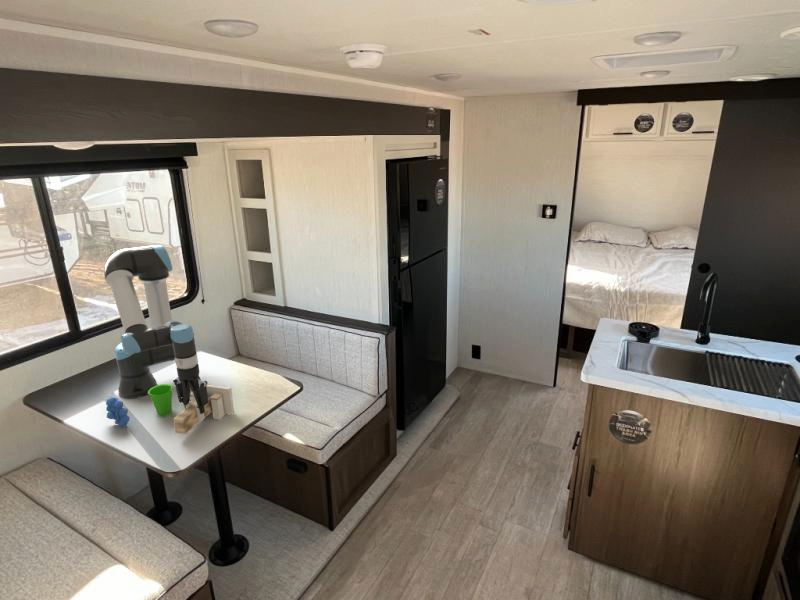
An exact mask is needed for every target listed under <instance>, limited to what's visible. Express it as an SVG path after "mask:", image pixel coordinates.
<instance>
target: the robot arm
mask: <svg viewBox="0 0 800 600" xmlns="http://www.w3.org/2000/svg"><path fill="white" fill-rule="evenodd" d="M172 271H173V264H172V261H171V258H170V254H169V253H168V250H167V249H166V247H164V246H163V245H161V244H160V245H159V244H158V245H157V244H156V245H153V244H152V245H145V246H139V247H138V246H137V247H131V248H123V249H120V250H119V249H118V250H117V251H115V252H114V253H113V254H112V255H111V256H110V257H109V258H108V260H107V262H106V263H105V266H104V271H103V273H104V280H105V283H106V284H107V285H109V286H110V287H111V288H110V289H111V291H112V292H111V293H112V295H113V299H114V301H115V304H116V309H117V312H118V314H119V317H120V321H121V324H122V327H123V331H124V334H121V335H120V343H119V344H117V346H115V349H114V354H115V360H116V363H117V368H118V372H119V373H118V374H119V377H120V379H119V386H118V388H117V389H118V390H117V391H118V395H119V396H120V397H121V398H122V399H123V398H124V399H137V398H141V397H143V396H144V397H146V396H147V395H149V394H148V391H149V390H150V389H151V388H152V387H154V386H157V385H158V382H157V380H156V378H155V377H154V375H153V373H152V372H151V370H150V367H151V366H156V365H159V364H164V363H167V362H174V361H175V366H176V374H177V377H176V378H175V379H173V380H172V381H173V384H174V386H175V390H176V394H177V401H178V403H180V404H181V403H182V404H183V406H184V410H185V409H187V408H188V407H189V406H191V405H192V399H191V396H190V394H191V393H192V392H193V394H194V397H195V399H196V402H197V405H198V406H197V407H196V409H197V415H198V421H199V423H201V422H202V421H203V420H205V418H206V417H204V412H205V409H204V406H205V405H206V404H207V403H208V395H207V387H206V386H207V384H208V381H207V380H202V379H201V377H200V366H199V359H198V353H197V349H196V340H195V332H194V330H193V326H192V325H190V324H188V323H182V322H180V321H178V320H173V318H172V313H171V305H170V300H169V299H170V298H169V292H168V285H167V279H168V278H169V276H170V275H169V272H172ZM134 277H137V278H138V280H139V281H141V282H142V283H143V288H144V294H145V298H146V299H145V300H146V304H147V310H148V316H149V321H150V322H149V323H150V328H148V325H147V322H146V319H145V315H144V313H143V310H142V306H141V304H140V301H139V298H138V295H137V292H136V289H135V285H134V283H133V280H134Z"/></svg>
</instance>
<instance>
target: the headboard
mask: <svg viewBox="0 0 800 600" xmlns="http://www.w3.org/2000/svg"><path fill="white" fill-rule="evenodd" d="M206 387H207V395H211V397H210V399H211V405H212V412H211V413H212V417H213V419H214V420H219V419H220V420H222V417H223V416H224V417H225V415H227V414H228V415H227V416H233V415H235V414H234V413H235V407H234V399H233V391H232V387H228V386H222V385H217V384H208V383H207V386H206ZM190 399H191V402H192V404H193V403H194V402H196V399H195V397H194V394H193V392H192V391H191V393H190ZM224 417H223V418H224Z"/></svg>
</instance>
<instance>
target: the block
mask: <svg viewBox="0 0 800 600" xmlns="http://www.w3.org/2000/svg"><path fill="white" fill-rule="evenodd" d="M210 397H211V395H208V403H207V404H206V405H205V406H204V409H205V412H204V417H205V418H206V417H208V415H210V414H211V413H213V412H212V405H211V399H210ZM197 406H198V405H197V402H194V403H193V404H192V405H191V406H189V407H188V408H187V409H185V408H184V410H183V411H182V412H180V413H179V414H177V415H176V416H175V417H174V418H173V425H174V429H175V433H177V434H181V435H186V434H187V433H189V431H191V430H192V429H193V428H194V427H196V426H197V425H199V423H200V422H199V421H198V415H197V409H196V407H197Z"/></svg>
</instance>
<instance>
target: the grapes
mask: <svg viewBox="0 0 800 600" xmlns="http://www.w3.org/2000/svg"><path fill="white" fill-rule="evenodd" d="M105 404H106V411H107V413H106V418H107V419H108V420H114V424H115V425H117V426H121V427H127V426H128V424H129V422H130V418H131V416H130V415H128V411H129V410H128V409H127V408H125V407H124V402H123V401H121V400H119V398H117V397H114V396H112V397H109V398H107V399H106V401H105Z"/></svg>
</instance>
